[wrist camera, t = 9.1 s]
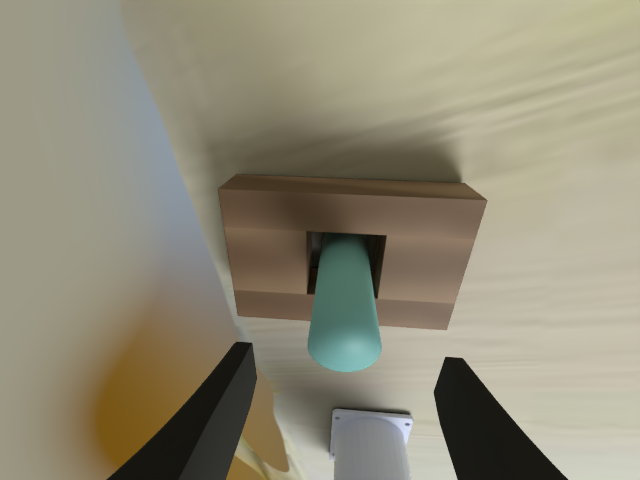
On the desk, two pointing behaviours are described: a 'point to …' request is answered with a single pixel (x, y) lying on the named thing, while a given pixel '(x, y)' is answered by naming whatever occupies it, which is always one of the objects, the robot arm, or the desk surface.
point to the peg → (344, 306)
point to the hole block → (358, 218)
